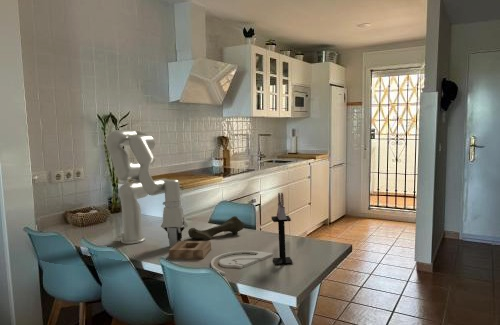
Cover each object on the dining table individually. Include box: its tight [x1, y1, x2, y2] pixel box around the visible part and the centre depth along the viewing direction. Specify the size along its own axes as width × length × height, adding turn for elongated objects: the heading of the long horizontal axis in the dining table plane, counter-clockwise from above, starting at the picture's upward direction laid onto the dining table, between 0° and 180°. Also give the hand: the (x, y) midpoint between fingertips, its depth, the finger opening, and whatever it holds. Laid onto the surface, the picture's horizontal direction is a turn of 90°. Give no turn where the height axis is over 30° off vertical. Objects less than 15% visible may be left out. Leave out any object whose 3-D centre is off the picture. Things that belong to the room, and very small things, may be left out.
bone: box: [187, 215, 245, 241], centre depth 214 cm, size 10×10×30 cm
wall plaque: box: [210, 250, 274, 276], centre depth 173 cm, size 19×2×30 cm
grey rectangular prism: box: [168, 227, 182, 249], centre depth 199 cm, size 4×7×10 cm, turn 171°
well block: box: [168, 240, 212, 260], centre depth 185 cm, size 16×14×4 cm
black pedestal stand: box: [271, 192, 294, 266], centre depth 167 cm, size 10×8×30 cm
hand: (175, 239), depth 199 cm, fingers closed on grey rectangular prism, 4 cm apart
